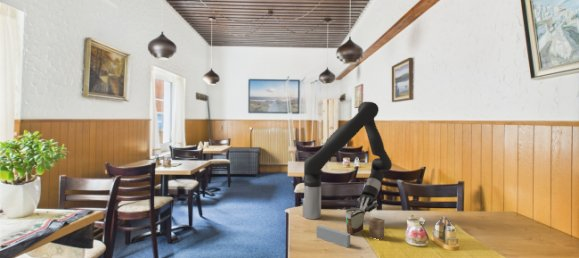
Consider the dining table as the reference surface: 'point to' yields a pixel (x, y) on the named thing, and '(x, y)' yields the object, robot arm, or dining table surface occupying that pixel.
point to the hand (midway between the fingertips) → (360, 217)
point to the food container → (354, 220)
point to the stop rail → (333, 236)
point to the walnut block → (376, 228)
